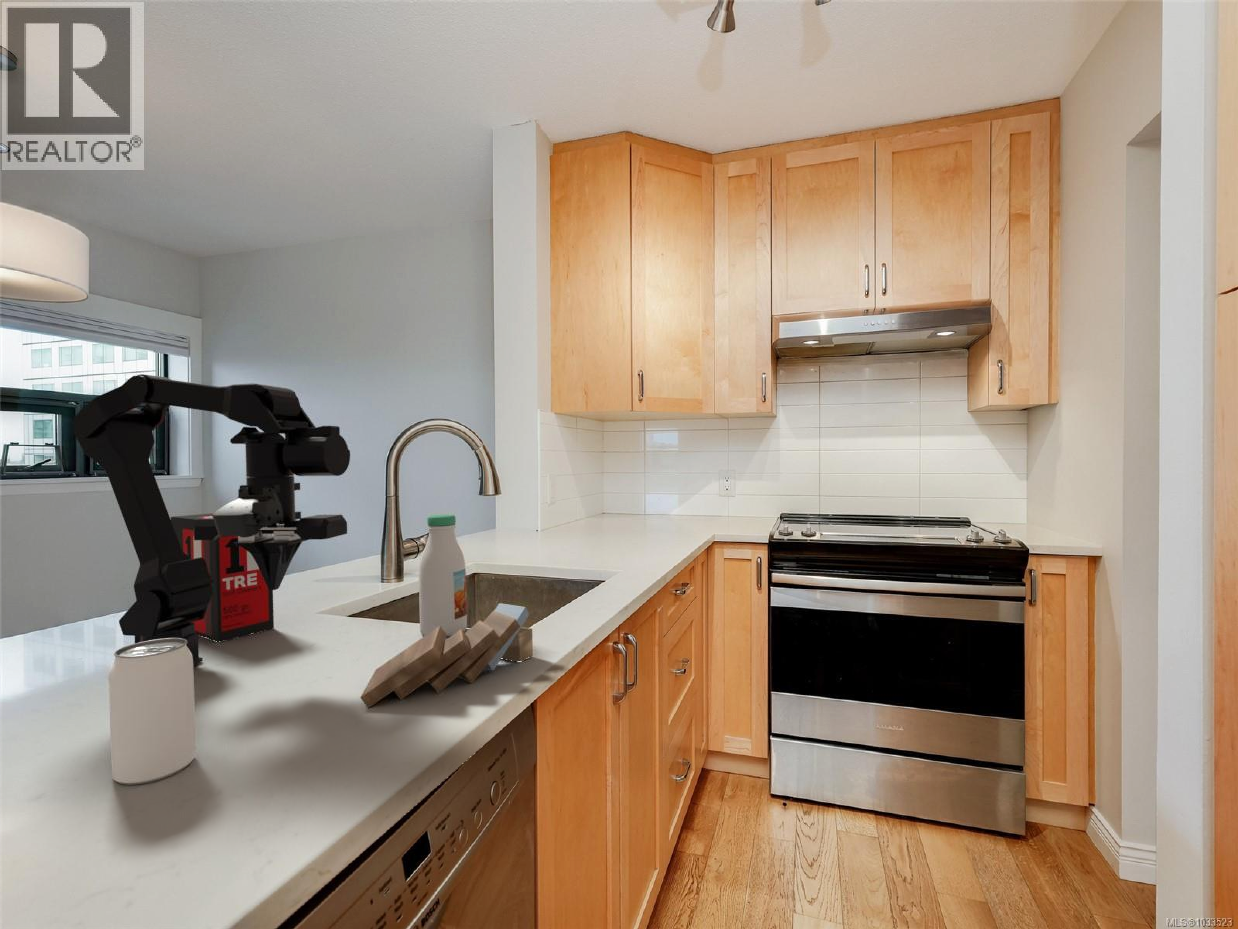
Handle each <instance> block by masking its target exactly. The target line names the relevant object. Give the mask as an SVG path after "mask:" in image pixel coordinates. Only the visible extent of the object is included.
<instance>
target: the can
mask: <svg viewBox="0 0 1238 929" xmlns="http://www.w3.org/2000/svg"><path fill="white" fill-rule="evenodd" d="M186 644H187V640H186V639H182V638H164V639H155V640H149V641H144V642H139V643H135V642H134V643H132V644H129V645H126V646H123V647H121V648H117V650H116V651H114V653H113V656H114V660H113V662H112V663H111V665H110V667H109V670H108V694H109V697H108V698H109V731H110V733H109V734H110V760H111V777H112V779H113V780H114V781H116V782H117V783H118V784H120V785H124V786H138V785H144V784H150V783H154V782H157V781H160V780H163V779H166V778H169V777H172V776H174V775H176V774H178V773H180V772H181V771H183V770H185V769H186V768H187V767H189V765H190V764H191V763H192V761H193V760H194V759H195V757H196V717H195V716H196V713H195V711H196V710H195V709H196V708H195V680H194V677H195V676H194V675H195V674H194V666H193V656H192V653H191V652H190V650H189V649H188V647H187V645H186Z"/></svg>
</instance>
